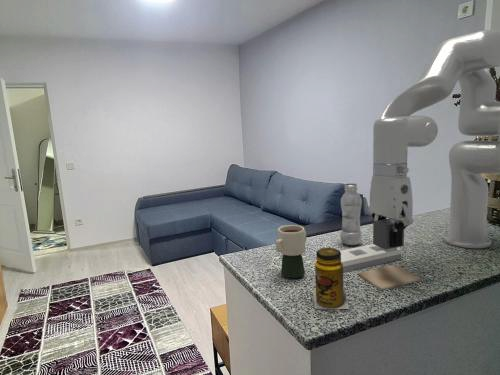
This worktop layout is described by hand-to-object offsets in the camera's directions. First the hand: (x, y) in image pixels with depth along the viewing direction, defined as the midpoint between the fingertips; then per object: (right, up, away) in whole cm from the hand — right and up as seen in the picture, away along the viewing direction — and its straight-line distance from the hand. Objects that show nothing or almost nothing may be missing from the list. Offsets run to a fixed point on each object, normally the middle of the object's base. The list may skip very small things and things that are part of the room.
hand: (388, 242), depth 82 cm
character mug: (-23, -10, +7) cm, 26 cm away
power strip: (-2, -7, +12) cm, 15 cm away
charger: (0, -2, 0) cm, 2 cm away
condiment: (-16, -12, -7) cm, 21 cm away
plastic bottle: (-1, -5, +26) cm, 27 cm away
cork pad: (+1, -9, +2) cm, 9 cm away
